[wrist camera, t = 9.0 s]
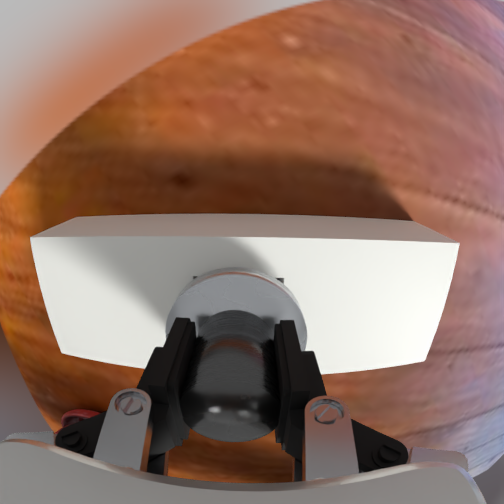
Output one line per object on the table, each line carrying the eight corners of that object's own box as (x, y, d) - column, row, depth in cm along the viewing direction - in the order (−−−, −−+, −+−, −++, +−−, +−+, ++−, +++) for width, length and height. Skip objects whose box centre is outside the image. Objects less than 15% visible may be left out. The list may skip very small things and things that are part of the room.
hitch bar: (393, 320, 20) (424, 360, 15) (94, 314, 20) (61, 353, 15) (413, 221, 18) (459, 243, 12) (76, 216, 17) (30, 237, 12)
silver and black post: (286, 325, 18) (310, 457, 9) (194, 323, 18) (157, 451, 9) (293, 235, 16) (345, 339, 7) (188, 234, 16) (114, 332, 7)
